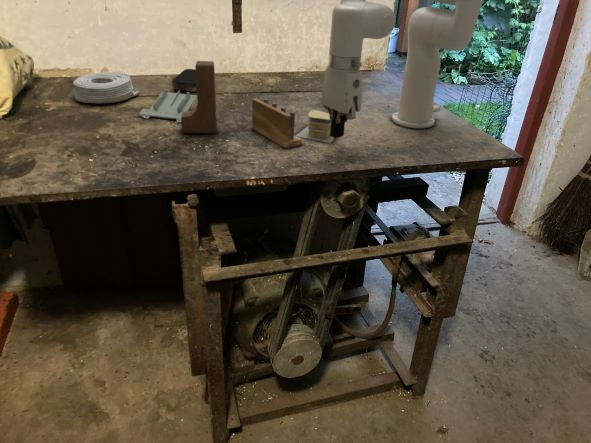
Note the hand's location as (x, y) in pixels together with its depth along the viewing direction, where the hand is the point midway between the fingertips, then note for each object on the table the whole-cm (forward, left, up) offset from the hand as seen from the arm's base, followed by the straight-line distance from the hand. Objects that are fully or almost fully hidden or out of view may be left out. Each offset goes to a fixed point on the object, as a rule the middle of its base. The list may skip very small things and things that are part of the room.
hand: (336, 136), depth 122 cm
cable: (+36, -69, -4) cm, 78 cm away
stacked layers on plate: (-3, -10, -4) cm, 11 cm away
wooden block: (+24, -29, -4) cm, 38 cm away
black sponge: (+7, -68, -4) cm, 68 cm away
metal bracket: (+24, -46, -4) cm, 52 cm away
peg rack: (+8, -15, -4) cm, 17 cm away
